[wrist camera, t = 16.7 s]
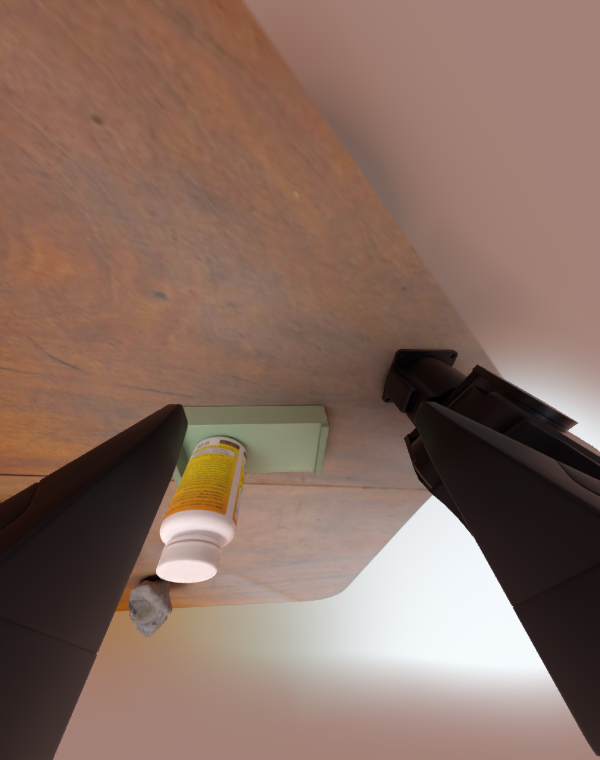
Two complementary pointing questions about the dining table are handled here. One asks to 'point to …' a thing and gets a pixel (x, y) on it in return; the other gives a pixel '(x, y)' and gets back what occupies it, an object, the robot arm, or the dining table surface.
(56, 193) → the dining table surface
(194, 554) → the supplement bottle
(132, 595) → the fossil
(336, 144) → the dining table surface
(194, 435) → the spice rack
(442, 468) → the robot arm
